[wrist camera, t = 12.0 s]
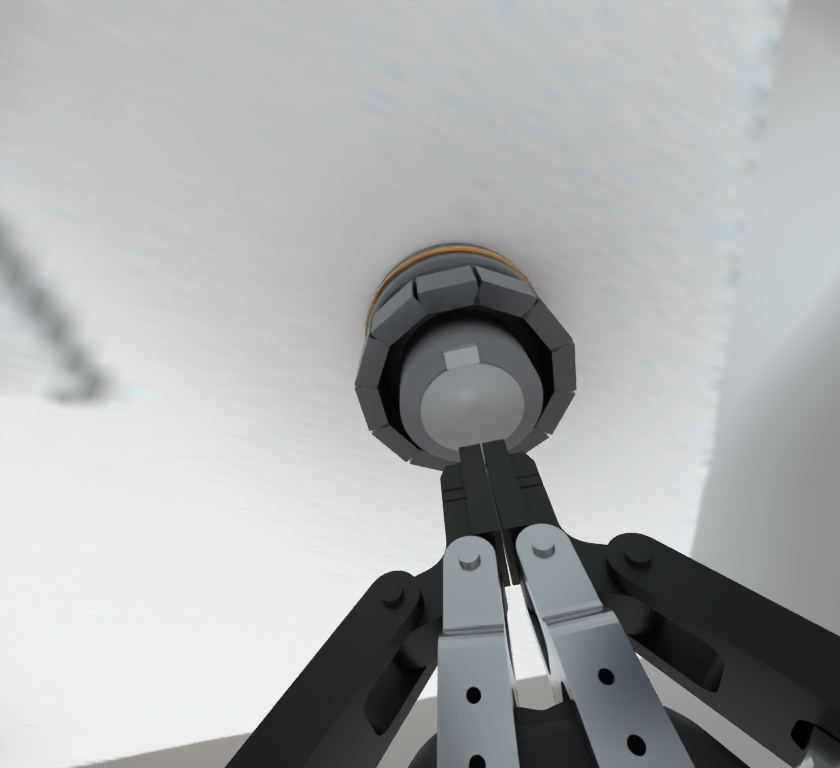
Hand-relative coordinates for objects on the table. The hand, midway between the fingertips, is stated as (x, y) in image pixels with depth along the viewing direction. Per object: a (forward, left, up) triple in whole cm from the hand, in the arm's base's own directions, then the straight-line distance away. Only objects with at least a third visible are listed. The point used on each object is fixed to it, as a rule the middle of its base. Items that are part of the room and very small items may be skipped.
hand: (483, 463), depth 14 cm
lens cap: (0, 0, -7) cm, 7 cm away
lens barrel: (0, 0, -11) cm, 11 cm away
